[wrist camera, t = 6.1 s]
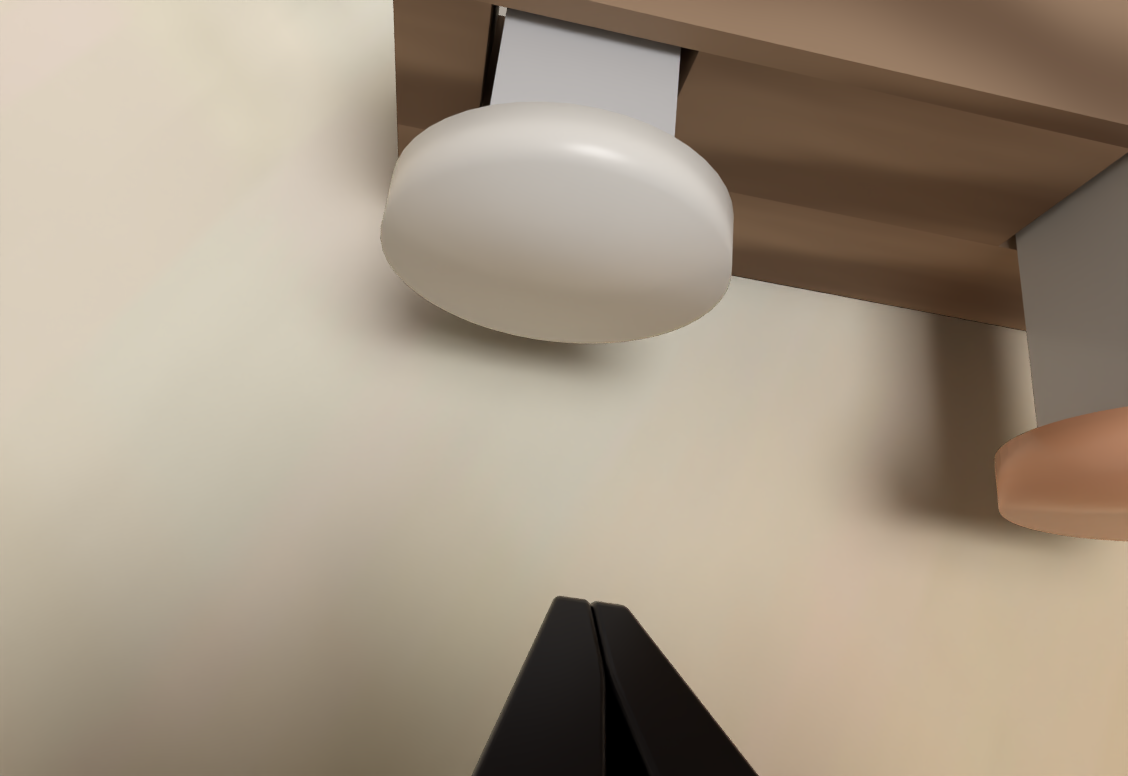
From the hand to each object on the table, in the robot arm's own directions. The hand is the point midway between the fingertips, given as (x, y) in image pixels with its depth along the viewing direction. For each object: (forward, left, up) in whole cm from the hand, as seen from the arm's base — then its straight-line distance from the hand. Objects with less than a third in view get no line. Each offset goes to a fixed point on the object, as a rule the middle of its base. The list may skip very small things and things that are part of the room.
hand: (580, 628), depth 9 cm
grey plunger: (+9, -8, -8) cm, 14 cm away
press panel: (+5, -14, -11) cm, 18 cm away
